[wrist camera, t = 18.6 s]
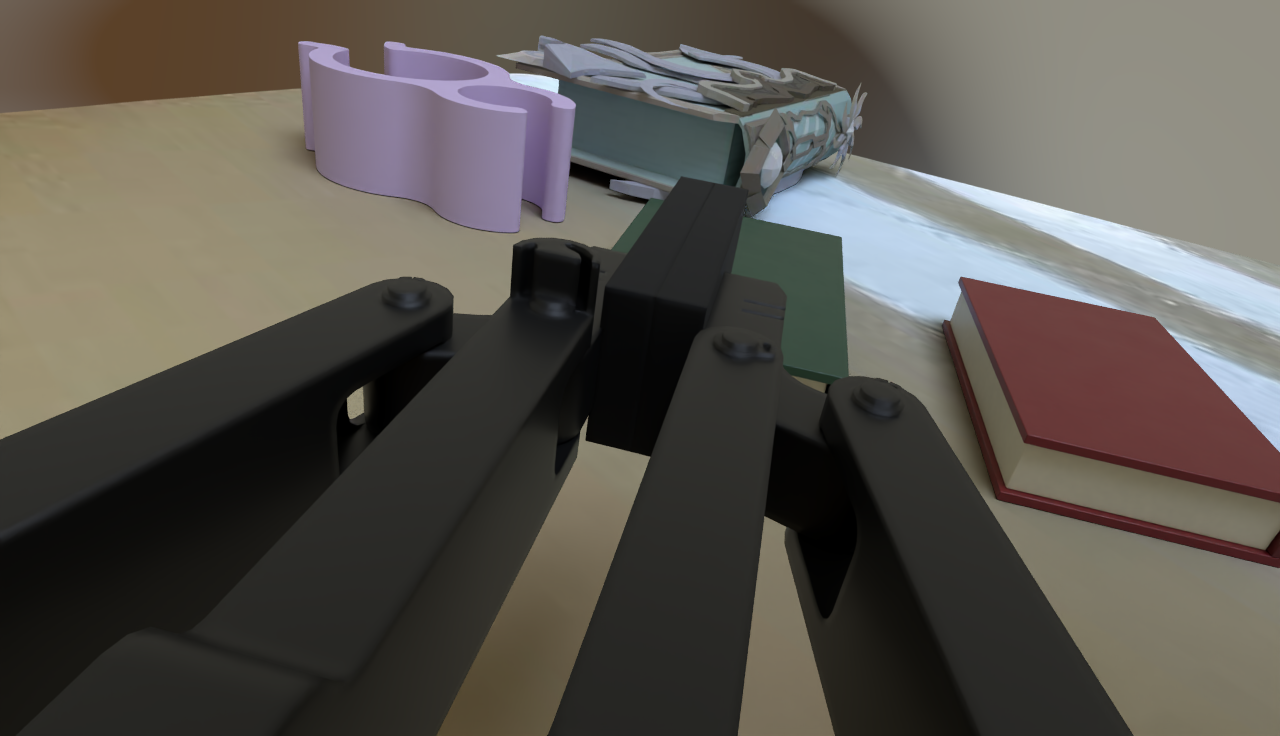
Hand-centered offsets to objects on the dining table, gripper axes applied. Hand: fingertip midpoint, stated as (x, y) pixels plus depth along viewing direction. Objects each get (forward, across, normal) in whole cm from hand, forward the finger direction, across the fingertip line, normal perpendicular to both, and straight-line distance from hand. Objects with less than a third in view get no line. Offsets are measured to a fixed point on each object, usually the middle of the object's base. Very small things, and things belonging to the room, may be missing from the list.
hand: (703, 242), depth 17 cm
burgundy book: (+9, +17, -9) cm, 21 cm away
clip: (+31, -21, -11) cm, 39 cm away
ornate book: (+49, -6, -11) cm, 51 cm away
